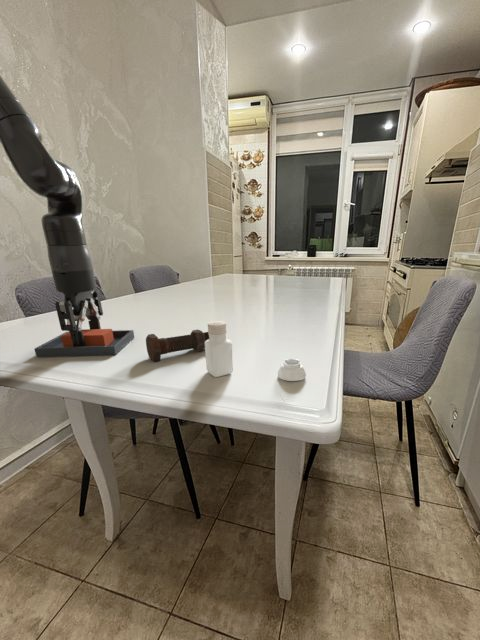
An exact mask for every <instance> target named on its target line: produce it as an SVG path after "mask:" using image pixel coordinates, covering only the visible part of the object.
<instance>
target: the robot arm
mask: <svg viewBox="0 0 480 640" xmlns="http://www.w3.org/2000/svg"><path fill="white" fill-rule="evenodd" d="M21 103H22V102H21V101H19V99H18V98H17V96H16V95H15V94H14V93H13V91H12V90H11V88H10V87H9V85H8V84H7V82H6V81H5V80H4V78H3V77H2V76H1V75H0V144H1V146H2V148H3V150H4V153H5V154H6V157H7V158H8V160H9V162H10V164H11V166H12V167H13V169H14V171H15V172H16V174H17V176H18V177H19V179H20V180H21V181H22V183H24V184H25V185H26V187H28V188H29V189H30V190H31V191H32V192H33V193H34V194H37V195H38V196H40V197H42V198H46V201H47V212H46V213H45V214H43V215H42V217H41V227H42V231H43V236H44V241H45V244H46V248H47V258H48V262H49V266H50V270H51V274H52V275H51V276H52V278H53V282H54V283H53V284H54V287H55V290H56V292H58V293H62V294H63V295H64V300H62V301H61V300H60V301H55V303H54V305H55V309H56V314H57V318H58V322H59V327H60V330H61V331H63V332H70V334H71V339H72V343H73V346H74V347H83V346H85V340H84V336H83V332H82V330H83V329H82V328H83V322H84V321H86V319H87V320H88V321H87V322H88V327H89V329H102V328H101V323H100V320H101V317H102V316H104V311H103V306H102V302H101V301H102V300H101V297H100V293H99V291H98V290H97V291H96V289H97V288H98V287H97V282H96V276H95V273H94V268H93V267H94V266H93V262H92V257H91V253H90V251H89V248H88V244H87V239H86V234H85V229H84V226H83V225H84V224H83V212H84V211H83V209H84V208H83V206H84V205H83V201H84V200H83V191H82V186H81V182H80V180H79V177H78V175H77V174H76V172H75V171H74V170H73V169H72V168H71V167H70V166H68V165H67V164H66V163H63V162H61V161H59V160H57V159H55V158H54V157H53V156H52V155H51V153H49V151H48V150H47V149H46V147H45V146H44V144H43V136H42V133H41V131H40V129H39V127H38V125H37V124H36V122H34V120H33V118H32V117H31V116H30V114H29V113H28V112H27V111H26V109H25V107H24V106H23V105H22V104H21Z"/></svg>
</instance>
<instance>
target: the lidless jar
mask: <svg viewBox="0 0 480 640" xmlns="http://www.w3.org/2000/svg"><path fill="white" fill-rule="evenodd" d="M277 377H278V378H279V379H281V380H284V381H288V382H298V381H302V380H304V379H305V378H306V377H307V373H306V370H305V368H304V366H303V365H302V363H301V360H299V359H297V358H286V359H284V360H283V362H282V364H280V366H279V368H278V370H277Z"/></svg>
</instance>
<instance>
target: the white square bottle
mask: <svg viewBox="0 0 480 640" xmlns="http://www.w3.org/2000/svg"><path fill="white" fill-rule="evenodd" d="M207 332H208V334H209V339H208V340H206V341H205V349H204V351H205V352H204V354H205V365H206V367H205V368H206V371H207V373H208V374H210V375H211V376H212V377H213V378H218V377H222V376H227V375H231V374H232V373H233V372H234V362H233V361H234V360H233V344H232V343H233V342H232V341H231V340H230V339H228V338H227V332H228V331H227V323H226V321H224V320H212V321H209V322H208V323H207Z"/></svg>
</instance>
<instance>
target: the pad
mask: <svg viewBox="0 0 480 640" xmlns="http://www.w3.org/2000/svg"><path fill="white" fill-rule="evenodd" d="M81 330H82V332H83V336H84V340H85V346H108V345H109V344H111V343H112V342H113V341H114V337H113V332H112V331H113V328H101V329H90V328H88V329H87V328H86V329H84V328H83V329H81ZM67 332H68V333H66V334H64V335H62V336H61V339H62V343H63V347H74V346H73V343H72V339H71V334H70V332H69V331H67Z"/></svg>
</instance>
